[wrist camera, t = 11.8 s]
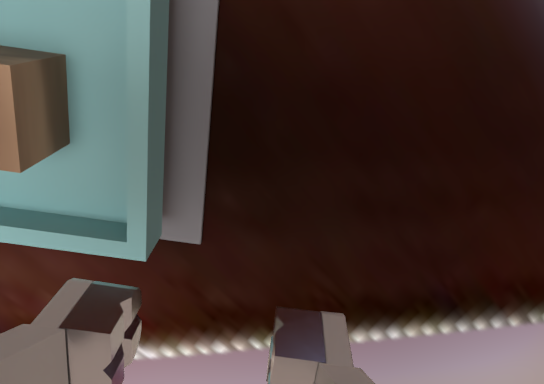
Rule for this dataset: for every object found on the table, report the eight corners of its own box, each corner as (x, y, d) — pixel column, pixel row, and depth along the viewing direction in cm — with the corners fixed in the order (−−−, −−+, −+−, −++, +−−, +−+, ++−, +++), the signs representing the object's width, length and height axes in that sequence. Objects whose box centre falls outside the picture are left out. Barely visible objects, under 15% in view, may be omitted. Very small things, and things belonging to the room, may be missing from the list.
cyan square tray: (179, -48, 22) (151, -62, 17) (169, 221, 27) (145, 261, 23) (-103, -87, 22) (-202, -111, 17) (-53, 191, 27) (-119, 226, 23)
